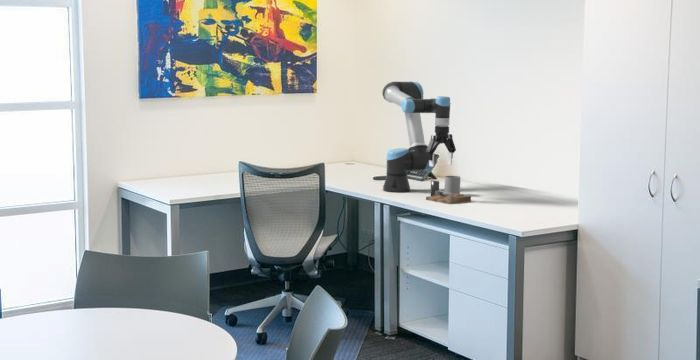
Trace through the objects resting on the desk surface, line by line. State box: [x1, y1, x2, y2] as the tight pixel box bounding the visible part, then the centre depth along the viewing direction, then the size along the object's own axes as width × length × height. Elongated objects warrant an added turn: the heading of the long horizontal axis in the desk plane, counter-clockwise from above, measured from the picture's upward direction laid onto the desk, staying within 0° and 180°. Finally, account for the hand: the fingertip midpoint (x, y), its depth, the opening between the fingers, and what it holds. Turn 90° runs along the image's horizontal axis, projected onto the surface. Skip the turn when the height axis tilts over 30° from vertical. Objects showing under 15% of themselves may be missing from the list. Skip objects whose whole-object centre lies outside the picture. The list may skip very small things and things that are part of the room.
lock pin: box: [430, 180, 454, 198], centre depth 474 cm, size 16×4×8 cm, turn 38°
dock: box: [425, 190, 472, 205], centre depth 469 cm, size 17×16×4 cm
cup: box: [443, 175, 461, 194], centre depth 489 cm, size 8×8×10 cm
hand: (440, 165), depth 477 cm, fingers open, 13 cm apart
